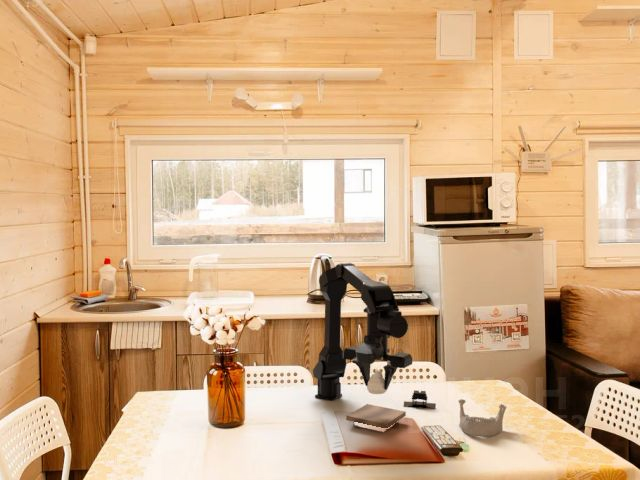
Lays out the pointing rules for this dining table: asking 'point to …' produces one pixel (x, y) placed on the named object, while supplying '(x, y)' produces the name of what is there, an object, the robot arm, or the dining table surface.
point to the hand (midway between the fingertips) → (376, 387)
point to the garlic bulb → (376, 383)
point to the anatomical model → (481, 423)
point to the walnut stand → (376, 416)
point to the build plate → (418, 404)
